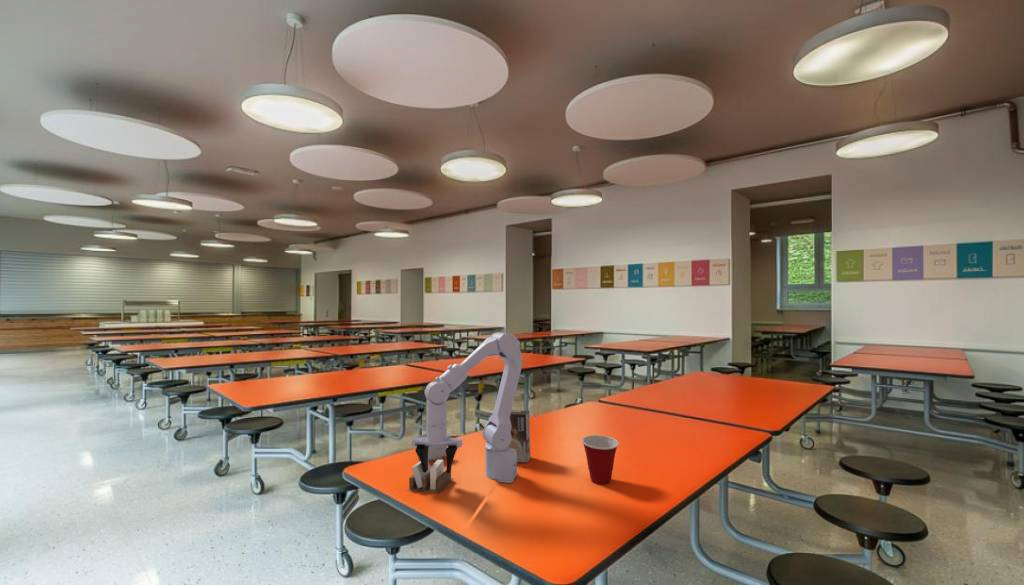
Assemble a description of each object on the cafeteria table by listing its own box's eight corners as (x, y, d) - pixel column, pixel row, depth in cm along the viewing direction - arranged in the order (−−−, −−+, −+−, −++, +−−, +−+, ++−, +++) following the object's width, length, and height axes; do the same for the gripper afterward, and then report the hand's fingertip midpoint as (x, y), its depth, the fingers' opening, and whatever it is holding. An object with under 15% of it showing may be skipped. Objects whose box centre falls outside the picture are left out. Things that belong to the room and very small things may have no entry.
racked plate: (433, 477, 128) (427, 457, 129) (423, 486, 121) (416, 466, 122) (428, 479, 128) (422, 459, 129) (417, 488, 122) (411, 467, 122)
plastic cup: (597, 491, 120) (596, 447, 120) (575, 478, 129) (574, 437, 130) (628, 483, 124) (626, 441, 125) (604, 471, 134) (603, 432, 135)
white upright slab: (443, 480, 127) (443, 459, 128) (436, 489, 120) (436, 468, 121) (437, 480, 128) (437, 459, 128) (430, 489, 121) (430, 467, 121)
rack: (453, 481, 129) (453, 467, 129) (439, 496, 118) (439, 481, 118) (423, 478, 131) (423, 465, 131) (406, 493, 120) (406, 479, 120)
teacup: (440, 465, 142) (440, 441, 143) (410, 464, 144) (409, 439, 145) (454, 452, 156) (454, 430, 156) (426, 450, 158) (426, 428, 158)
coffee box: (531, 457, 149) (530, 410, 150) (527, 463, 143) (526, 414, 144) (505, 455, 151) (505, 409, 152) (501, 461, 145) (500, 413, 146)
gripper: (464, 420, 128) (464, 467, 127) (417, 420, 130) (417, 465, 129) (458, 426, 121) (458, 476, 120) (408, 426, 123) (409, 474, 122)
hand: (437, 471), depth 124 cm, fingers open, 6 cm apart
